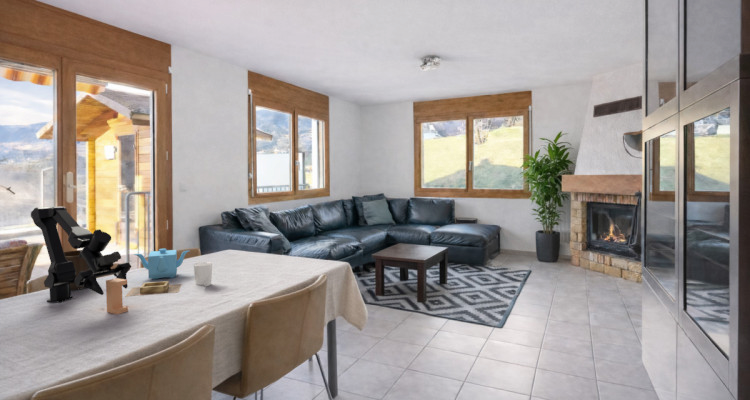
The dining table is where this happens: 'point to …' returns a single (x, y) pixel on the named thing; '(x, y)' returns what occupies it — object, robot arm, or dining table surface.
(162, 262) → the teakettle
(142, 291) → the brown tray
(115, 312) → the c link
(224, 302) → the dining table surface
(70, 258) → the plant pot
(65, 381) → the dining table surface
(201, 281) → the white cup
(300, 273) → the dining table surface
